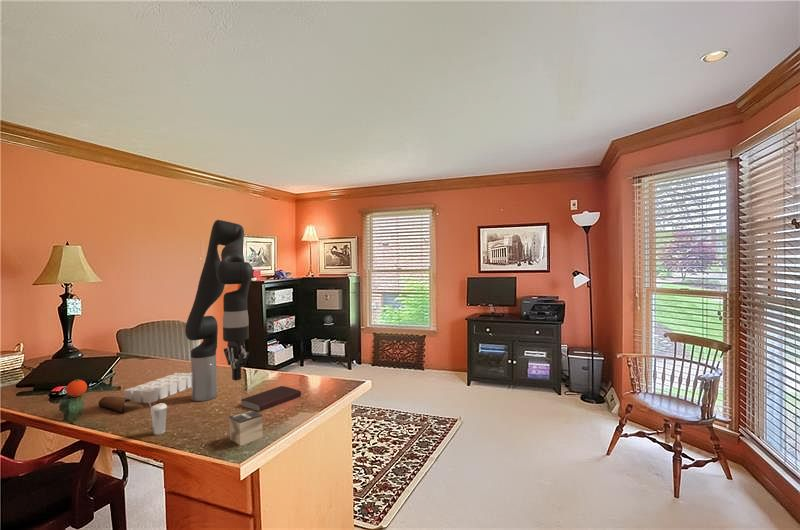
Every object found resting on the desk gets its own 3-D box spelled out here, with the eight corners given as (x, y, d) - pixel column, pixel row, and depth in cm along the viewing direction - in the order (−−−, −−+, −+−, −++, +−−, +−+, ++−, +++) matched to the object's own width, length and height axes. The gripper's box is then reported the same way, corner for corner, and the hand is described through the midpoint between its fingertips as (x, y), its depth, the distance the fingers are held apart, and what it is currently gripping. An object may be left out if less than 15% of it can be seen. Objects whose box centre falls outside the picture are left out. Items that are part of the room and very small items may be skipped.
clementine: (66, 395, 165) (66, 379, 165) (87, 392, 170) (87, 376, 170) (65, 400, 159) (65, 383, 159) (87, 396, 163) (86, 379, 163)
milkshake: (153, 430, 126) (152, 399, 126) (170, 429, 126) (169, 398, 126) (145, 436, 121) (144, 404, 121) (163, 435, 122) (162, 403, 122)
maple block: (239, 421, 113) (240, 445, 113) (262, 414, 118) (262, 437, 118) (229, 416, 118) (229, 439, 118) (251, 409, 123) (251, 431, 123)
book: (301, 398, 156) (301, 390, 156) (260, 413, 140) (259, 404, 140) (281, 393, 163) (281, 385, 163) (240, 407, 147) (239, 398, 147)
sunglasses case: (146, 406, 149) (136, 394, 146) (129, 421, 143) (118, 409, 140) (122, 400, 157) (112, 388, 154) (105, 414, 152) (94, 402, 149)
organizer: (123, 390, 156) (190, 368, 190) (124, 402, 156) (190, 377, 190) (150, 391, 153) (213, 369, 187) (150, 404, 153) (213, 379, 187)
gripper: (257, 325, 120) (258, 380, 120) (237, 321, 129) (238, 373, 129) (233, 328, 115) (234, 386, 115) (214, 324, 123) (215, 378, 123)
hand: (236, 379), depth 122 cm, fingers closed
